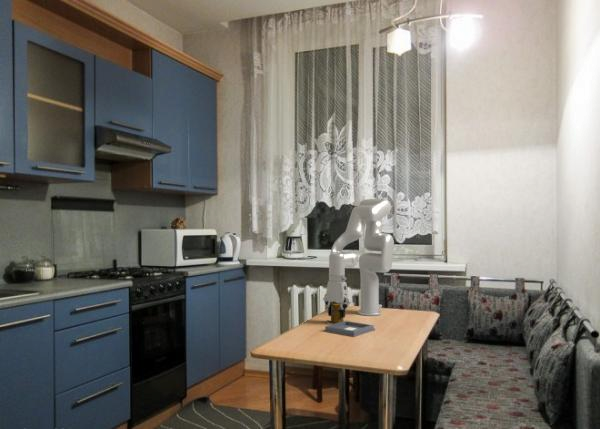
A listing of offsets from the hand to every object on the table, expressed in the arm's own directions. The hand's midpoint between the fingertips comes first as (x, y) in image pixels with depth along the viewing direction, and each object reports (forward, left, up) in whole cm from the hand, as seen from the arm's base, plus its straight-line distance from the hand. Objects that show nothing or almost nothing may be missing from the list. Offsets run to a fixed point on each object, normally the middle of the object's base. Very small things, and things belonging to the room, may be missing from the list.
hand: (336, 316), depth 236 cm
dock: (+10, +14, -3) cm, 17 cm away
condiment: (0, -1, -3) cm, 3 cm away
